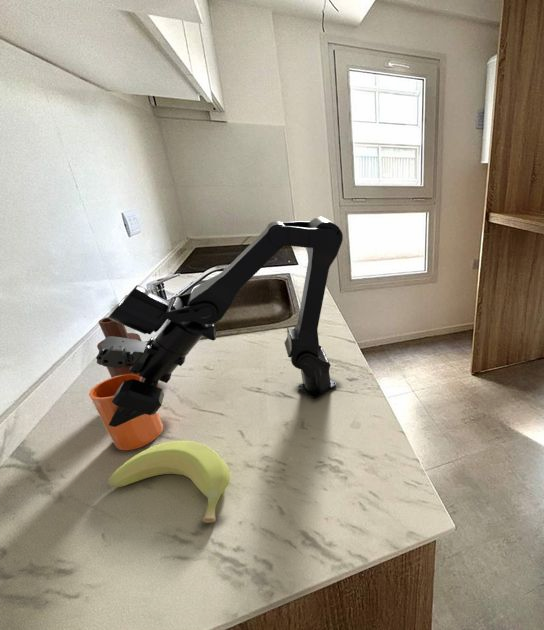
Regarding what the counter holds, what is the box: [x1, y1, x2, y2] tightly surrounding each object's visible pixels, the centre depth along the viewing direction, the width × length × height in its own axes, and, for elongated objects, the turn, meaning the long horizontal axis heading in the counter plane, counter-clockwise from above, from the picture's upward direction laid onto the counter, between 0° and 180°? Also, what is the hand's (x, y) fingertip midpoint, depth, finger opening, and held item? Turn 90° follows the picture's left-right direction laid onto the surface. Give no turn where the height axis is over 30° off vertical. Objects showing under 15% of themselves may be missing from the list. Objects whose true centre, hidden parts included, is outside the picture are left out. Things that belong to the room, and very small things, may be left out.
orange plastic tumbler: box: [88, 373, 164, 451], centre depth 62 cm, size 7×7×12 cm
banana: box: [107, 440, 231, 524], centre depth 53 cm, size 14×6×20 cm
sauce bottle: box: [96, 316, 161, 388], centre depth 71 cm, size 7×7×19 cm
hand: (119, 409), depth 61 cm, fingers open, 9 cm apart
